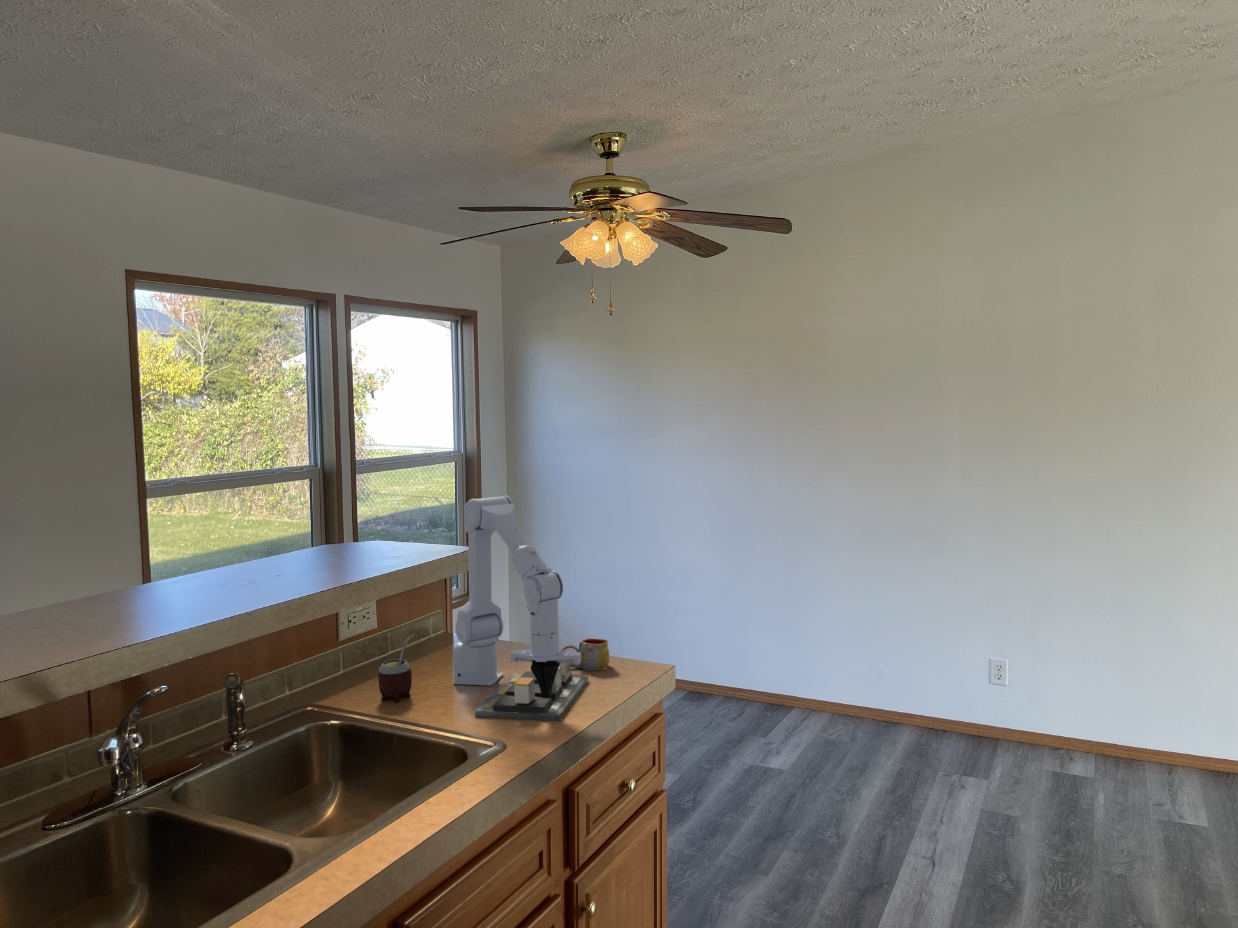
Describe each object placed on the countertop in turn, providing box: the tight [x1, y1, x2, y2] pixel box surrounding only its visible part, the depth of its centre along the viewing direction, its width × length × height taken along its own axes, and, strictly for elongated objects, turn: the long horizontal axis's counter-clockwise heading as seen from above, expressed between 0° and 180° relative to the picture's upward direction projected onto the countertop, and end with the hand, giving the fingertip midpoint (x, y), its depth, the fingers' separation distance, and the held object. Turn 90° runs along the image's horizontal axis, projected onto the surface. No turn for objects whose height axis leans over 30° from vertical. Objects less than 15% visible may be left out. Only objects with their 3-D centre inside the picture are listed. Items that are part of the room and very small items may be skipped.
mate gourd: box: [377, 632, 416, 704], centre depth 181 cm, size 8×8×15 cm
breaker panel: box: [474, 663, 589, 722], centre depth 179 cm, size 18×24×6 cm
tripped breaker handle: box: [514, 678, 535, 704], centre depth 171 cm, size 3×4×4 cm
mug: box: [561, 638, 610, 672], centre depth 200 cm, size 12×7×7 cm, turn 93°
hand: (546, 696), depth 171 cm, fingers closed
